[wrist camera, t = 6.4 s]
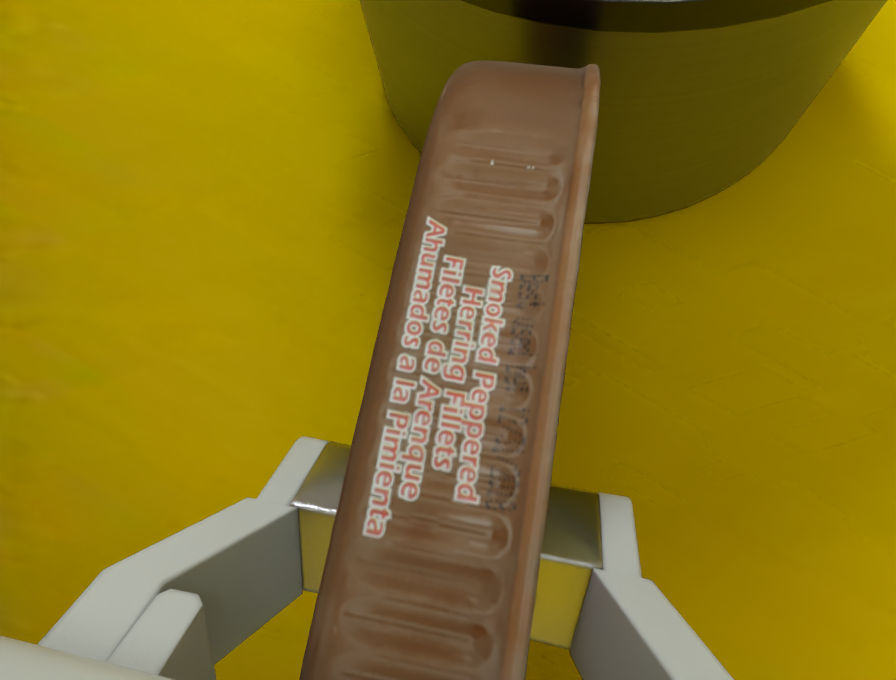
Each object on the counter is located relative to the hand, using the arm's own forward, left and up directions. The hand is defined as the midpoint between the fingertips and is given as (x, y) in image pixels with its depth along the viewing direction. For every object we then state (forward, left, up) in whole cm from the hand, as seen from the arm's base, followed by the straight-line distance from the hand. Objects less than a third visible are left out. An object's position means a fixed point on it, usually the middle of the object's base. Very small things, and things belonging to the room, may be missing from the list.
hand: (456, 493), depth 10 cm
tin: (0, +1, -5) cm, 6 cm away
